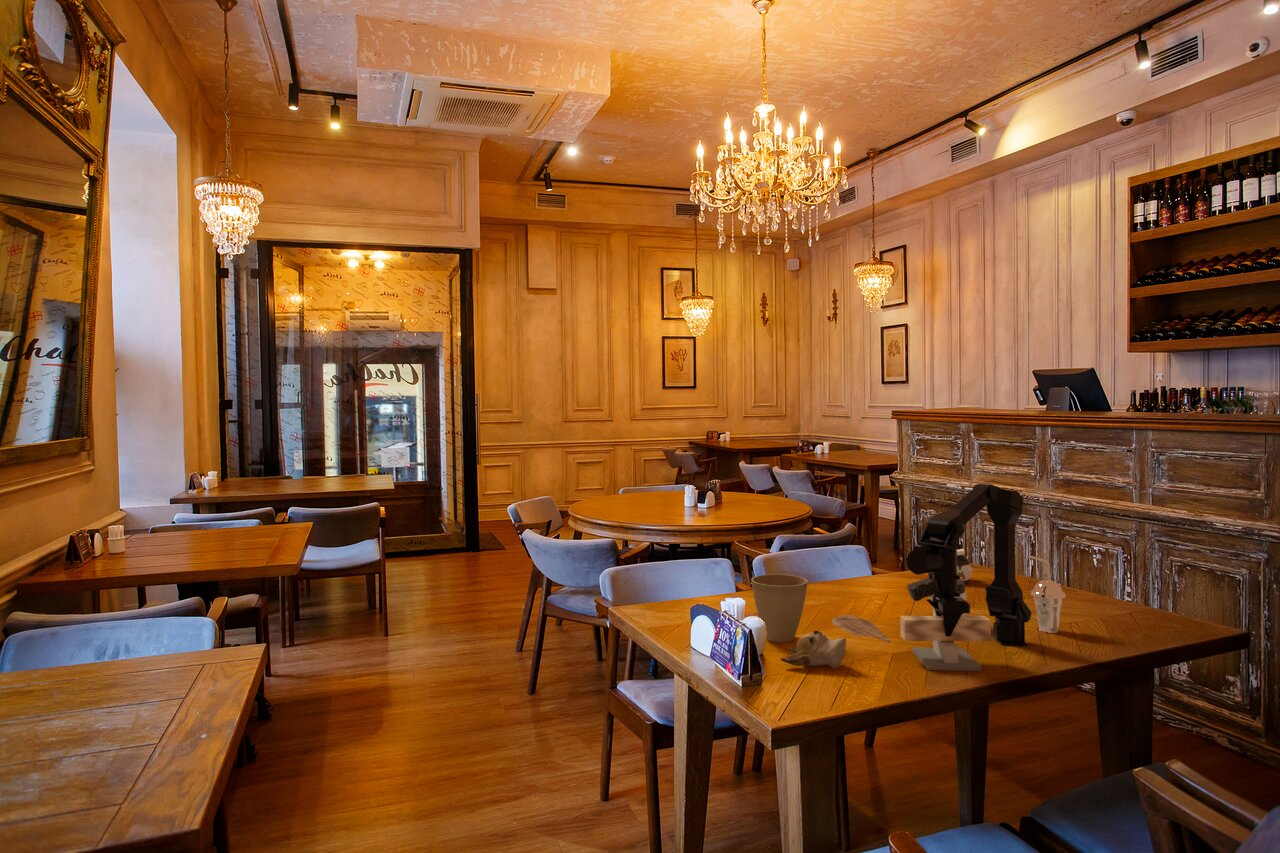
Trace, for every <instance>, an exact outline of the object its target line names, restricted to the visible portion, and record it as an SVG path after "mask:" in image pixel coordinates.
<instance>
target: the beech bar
mask: <svg viewBox="0 0 1280 853" xmlns="http://www.w3.org/2000/svg"><path fill="white" fill-rule="evenodd" d="M899 617H900V618H899V620H900V621H899V622H900V624H899V626H900V632H899V633H900V638H902V640H904V642H933V641H953V642H991V641H992V634H991V633H992V629H991V628H992V627H991V626H992V625H991V623H992V622H991V619H989V618H988V617H986V616H985V615H967V616H961V617H960V619H959V621H958V622H957V624H956V626H955V628H954V630H953V632H952V634H951V636H946V635H945V631H944V625H943V619H942V616H933V615H900V616H899Z"/></svg>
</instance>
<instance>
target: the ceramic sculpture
mask: <svg viewBox="0 0 1280 853" xmlns="http://www.w3.org/2000/svg"><path fill="white" fill-rule="evenodd" d="M846 647H847V638H846V637H843V638H837V639H830V638H828V637H827V635H826V634H825V633H823V632H821V631H819V630H813V632H812V634H804V635H803V636H801V637H800V638H799V639H798V640H797V642H796V646H795V647H794V648H792V647H787V650H788V651H789V652H791V653H792V654H790V655H788V656H787V657H782V658H780V661H782V662H784V663H786V664H789V665H791V666H794V667H795V666H796V667H801V666H807V667H819V666H822V665H824V666H825V665H828V666H830V667H831V668H832V669H837V668H839V667H841V665H842V661H843V658H844V656H845V653H846Z"/></svg>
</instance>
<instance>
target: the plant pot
mask: <svg viewBox="0 0 1280 853" xmlns="http://www.w3.org/2000/svg"><path fill="white" fill-rule="evenodd" d="M750 579H751V587H752V593H753V599H754V604H755V607H756V608H755V609H756V612H757V616H758V619H759V618H761V619H762V620H763V621H764V622H765V625H766V631H767V639H766V640H768V642H769V641H770V642H774V643H789V642H792V641H793V640H794V639H795V637H796V633H797V630H798V628H799V625H800V622H801V618H802V614H803V611H804V606H805V601H806V598H807V597H806V595H807V589H808V583H809V582H808V579H806V578H804V577H801V576H797V575H792V574H779V573H777V574H776V573H771V574H770V573H769V574H761V575H756V576H753V577H752V578H750Z"/></svg>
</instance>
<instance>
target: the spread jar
mask: <svg viewBox="0 0 1280 853" xmlns="http://www.w3.org/2000/svg"><path fill="white" fill-rule="evenodd" d="M965 553H966V552H965V549H963V548H962V549H960V550H957V574H958V575H960V581H963V582H964V583H965V584H966V583H967V582H969V581H970V579H971V576H972V574H973V569H972V567H971V563H970V560H969V558H968V557H967V556H966V555H965Z"/></svg>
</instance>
